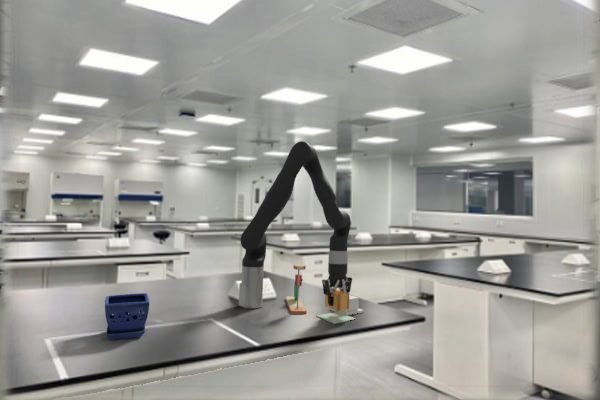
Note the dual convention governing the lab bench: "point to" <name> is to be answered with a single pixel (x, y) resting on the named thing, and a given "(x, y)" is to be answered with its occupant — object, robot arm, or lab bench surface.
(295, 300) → the crank mechanism
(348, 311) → the stand
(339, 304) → the cardboard box
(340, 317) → the mat
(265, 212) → the robot arm
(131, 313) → the flower pot
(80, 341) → the lab bench surface
